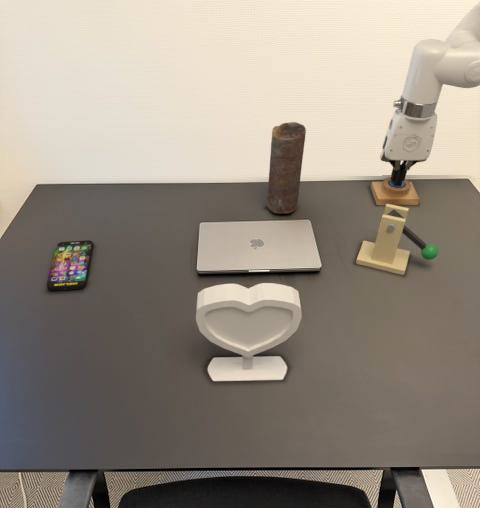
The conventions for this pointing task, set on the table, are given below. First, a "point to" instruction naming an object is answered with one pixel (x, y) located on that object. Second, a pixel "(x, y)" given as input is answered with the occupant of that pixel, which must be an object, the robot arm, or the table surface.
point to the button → (397, 185)
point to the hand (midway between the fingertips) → (396, 182)
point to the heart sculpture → (248, 327)
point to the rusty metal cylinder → (285, 167)
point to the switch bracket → (386, 244)
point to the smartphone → (70, 265)
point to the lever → (418, 240)
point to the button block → (394, 193)
